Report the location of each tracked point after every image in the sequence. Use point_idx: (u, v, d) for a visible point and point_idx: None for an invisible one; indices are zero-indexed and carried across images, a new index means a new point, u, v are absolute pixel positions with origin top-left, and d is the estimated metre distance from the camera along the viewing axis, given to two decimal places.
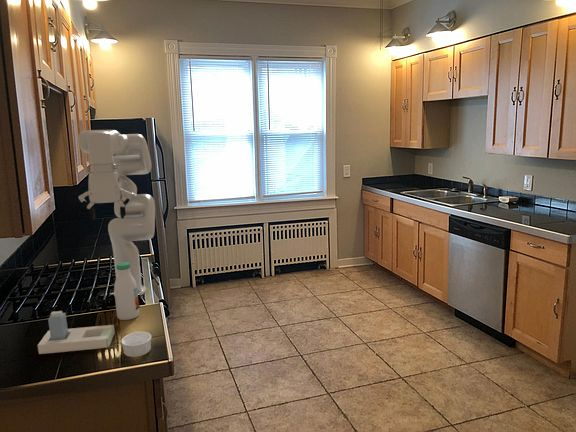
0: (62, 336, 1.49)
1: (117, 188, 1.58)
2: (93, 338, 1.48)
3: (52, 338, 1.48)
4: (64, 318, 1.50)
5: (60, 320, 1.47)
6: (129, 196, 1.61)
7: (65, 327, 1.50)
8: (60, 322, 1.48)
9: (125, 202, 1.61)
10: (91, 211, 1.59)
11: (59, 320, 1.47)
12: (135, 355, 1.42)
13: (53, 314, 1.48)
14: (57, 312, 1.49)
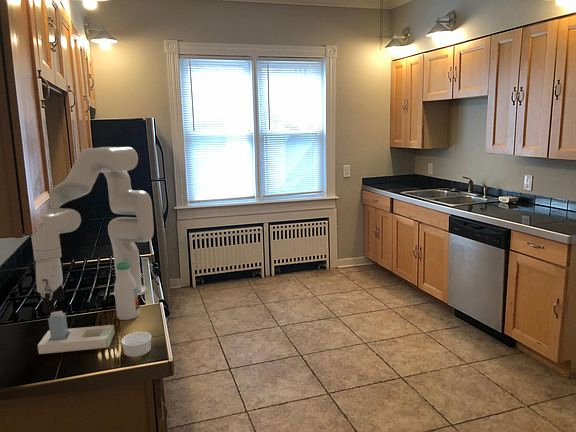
0: (62, 336, 1.49)
1: (61, 268, 1.50)
2: (93, 338, 1.48)
3: (52, 338, 1.48)
4: (64, 318, 1.50)
5: (60, 320, 1.47)
6: None
7: (65, 327, 1.50)
8: (60, 322, 1.48)
9: None
10: (53, 301, 1.43)
11: (59, 320, 1.47)
12: (135, 355, 1.42)
13: (53, 314, 1.48)
14: (57, 312, 1.49)
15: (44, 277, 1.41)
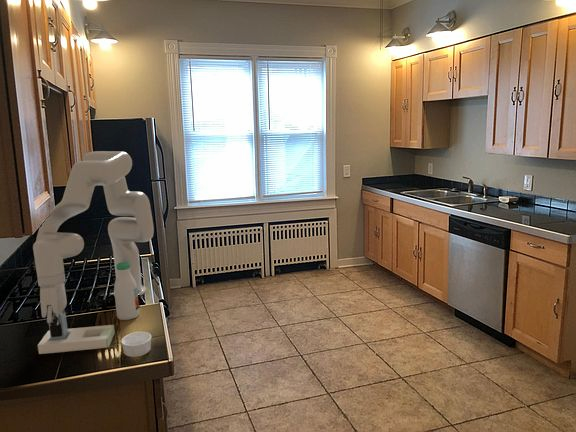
0: (62, 335, 1.49)
1: (65, 292, 1.52)
2: (93, 338, 1.48)
3: (52, 338, 1.48)
4: (64, 318, 1.50)
5: (60, 320, 1.47)
6: None
7: (65, 327, 1.50)
8: (60, 322, 1.48)
9: (63, 312, 1.53)
10: None
11: None
12: (135, 355, 1.42)
13: (53, 314, 1.48)
14: None
15: (48, 303, 1.43)
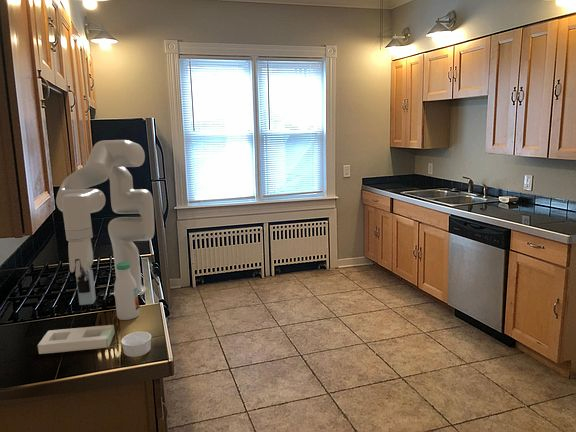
0: (89, 292, 1.47)
1: None
2: (93, 338, 1.48)
3: (79, 294, 1.47)
4: (91, 275, 1.49)
5: (88, 276, 1.46)
6: None
7: (92, 284, 1.49)
8: (87, 277, 1.46)
9: None
10: (88, 282, 1.46)
11: None
12: (135, 355, 1.42)
13: None
14: None
15: (77, 257, 1.41)
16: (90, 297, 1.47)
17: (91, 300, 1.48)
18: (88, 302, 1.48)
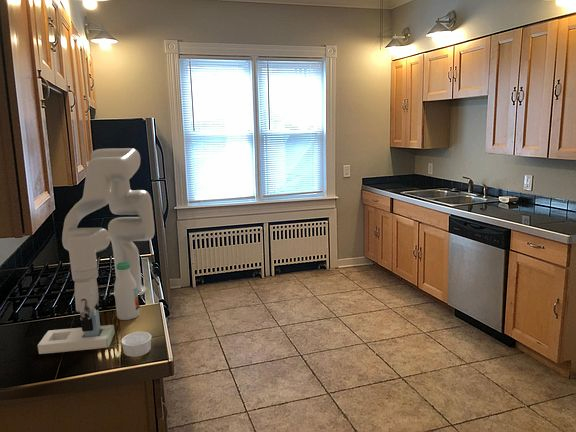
0: (95, 332, 1.50)
1: (97, 287, 1.53)
2: (93, 338, 1.48)
3: (86, 335, 1.50)
4: (97, 315, 1.52)
5: (94, 317, 1.49)
6: None
7: (98, 324, 1.52)
8: (93, 319, 1.49)
9: None
10: None
11: (92, 317, 1.49)
12: (136, 355, 1.42)
13: None
14: None
15: (83, 297, 1.44)
16: None
17: None
18: None
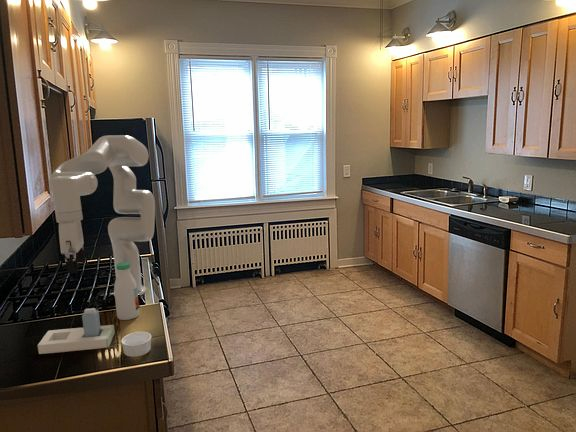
0: (95, 332, 1.50)
1: None
2: (93, 338, 1.48)
3: (86, 335, 1.50)
4: (97, 315, 1.52)
5: (94, 317, 1.49)
6: None
7: (98, 324, 1.52)
8: (93, 319, 1.49)
9: (81, 245, 1.56)
10: (76, 262, 1.46)
11: (92, 317, 1.49)
12: (136, 355, 1.42)
13: (87, 311, 1.50)
14: (90, 309, 1.50)
15: (67, 238, 1.44)
16: None
17: None
18: None
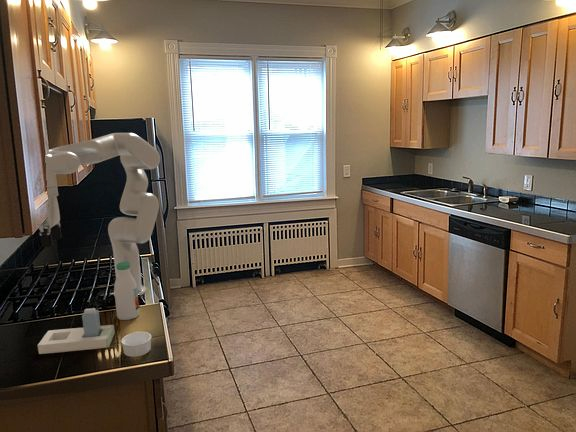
0: (95, 332, 1.50)
1: (58, 208, 1.60)
2: (93, 338, 1.48)
3: (86, 335, 1.50)
4: (97, 315, 1.52)
5: (94, 317, 1.49)
6: None
7: (98, 324, 1.52)
8: (93, 319, 1.49)
9: (58, 222, 1.62)
10: (51, 236, 1.52)
11: (92, 317, 1.49)
12: (136, 355, 1.42)
13: (87, 311, 1.50)
14: (90, 309, 1.50)
15: None
16: None
17: None
18: None
